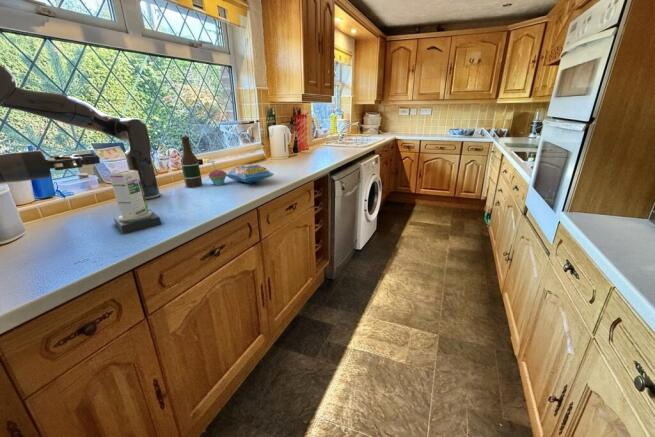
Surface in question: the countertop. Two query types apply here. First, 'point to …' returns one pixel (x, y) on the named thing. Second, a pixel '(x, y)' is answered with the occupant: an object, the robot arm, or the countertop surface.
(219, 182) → the cupcake
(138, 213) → the syrup box
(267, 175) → the packet
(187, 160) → the beer bottle
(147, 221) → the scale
